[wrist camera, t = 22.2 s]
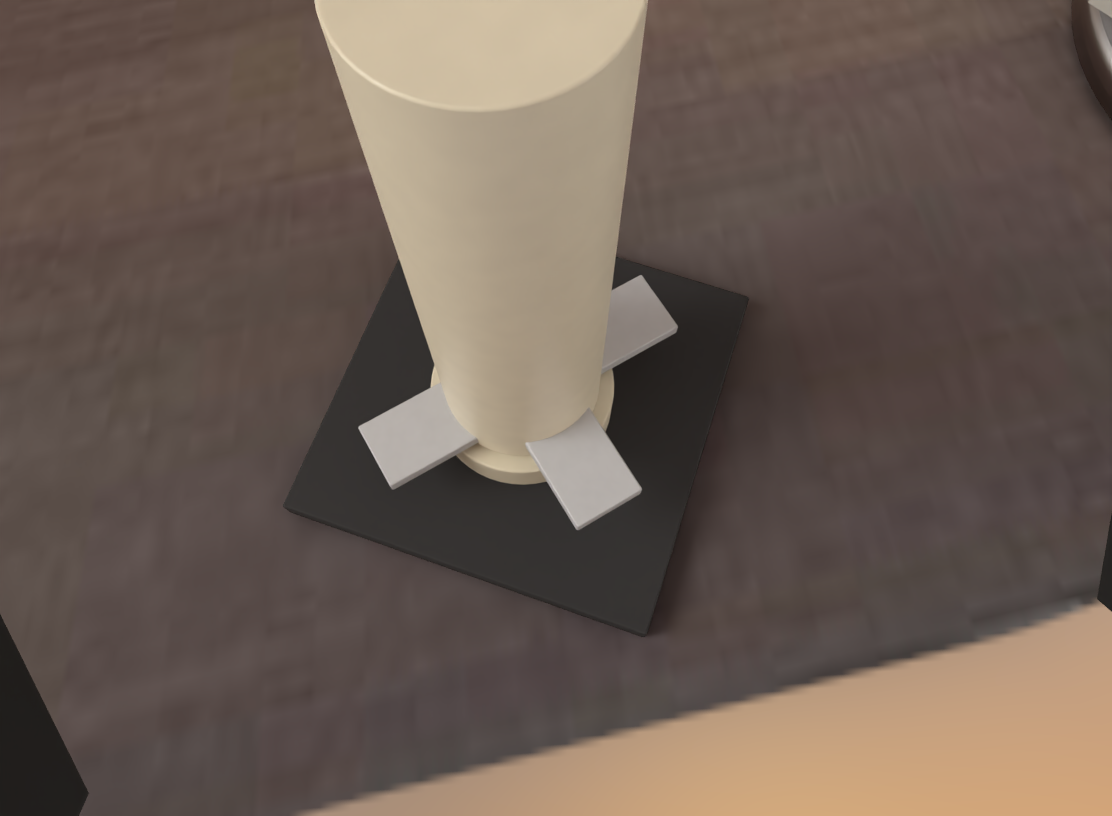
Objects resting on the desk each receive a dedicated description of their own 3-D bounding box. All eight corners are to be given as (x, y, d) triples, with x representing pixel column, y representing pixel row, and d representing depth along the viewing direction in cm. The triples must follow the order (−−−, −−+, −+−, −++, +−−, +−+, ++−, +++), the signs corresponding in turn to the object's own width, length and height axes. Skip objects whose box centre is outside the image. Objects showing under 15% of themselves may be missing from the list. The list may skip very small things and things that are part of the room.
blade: (575, 219, 26) (596, -338, 12) (738, 451, 23) (987, 71, 10) (318, 351, 24) (23, -118, 11) (462, 615, 22) (311, 432, 8)
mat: (745, 306, 25) (749, 296, 25) (644, 638, 22) (646, 635, 22) (429, 209, 26) (426, 198, 26) (288, 511, 23) (281, 506, 23)
